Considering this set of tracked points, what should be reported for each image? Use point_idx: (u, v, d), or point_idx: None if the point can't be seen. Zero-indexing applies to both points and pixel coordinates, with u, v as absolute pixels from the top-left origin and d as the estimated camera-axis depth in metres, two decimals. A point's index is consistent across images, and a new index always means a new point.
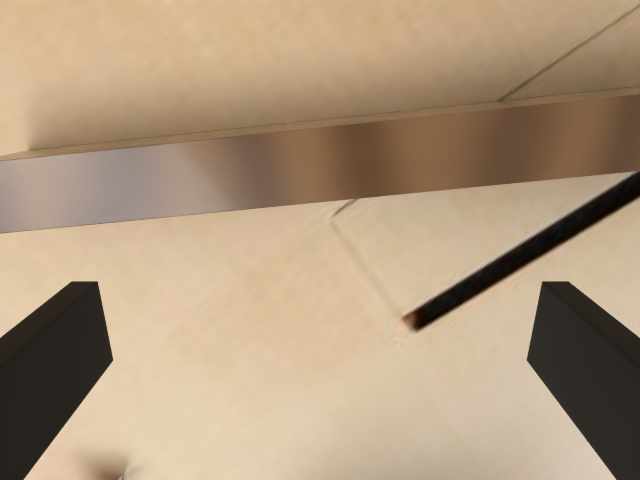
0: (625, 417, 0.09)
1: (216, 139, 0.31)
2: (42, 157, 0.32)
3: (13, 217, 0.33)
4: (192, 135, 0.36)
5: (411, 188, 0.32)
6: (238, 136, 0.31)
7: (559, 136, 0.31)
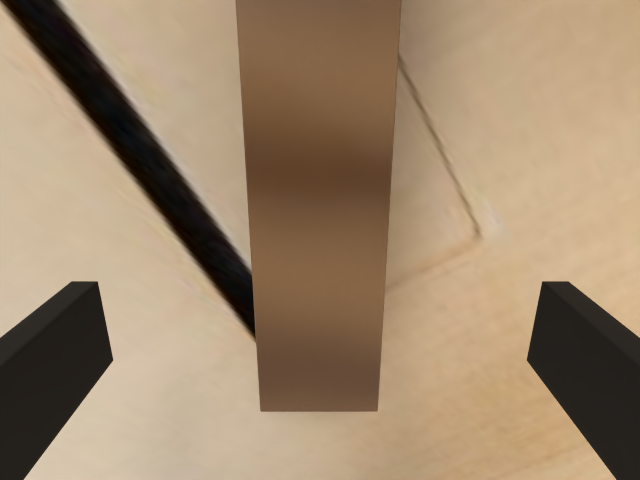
0: (625, 417, 0.09)
1: None
2: None
3: None
4: None
5: None
6: None
7: (330, 27, 0.15)
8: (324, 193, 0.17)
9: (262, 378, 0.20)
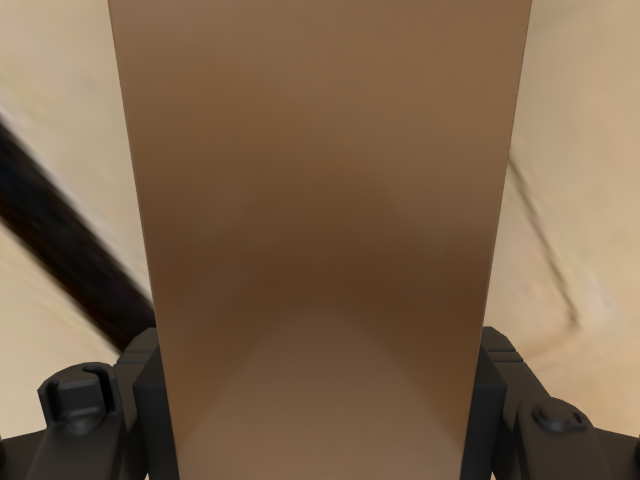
0: None
1: None
2: None
3: None
4: None
5: None
6: None
7: None
8: (332, 332, 0.07)
9: None
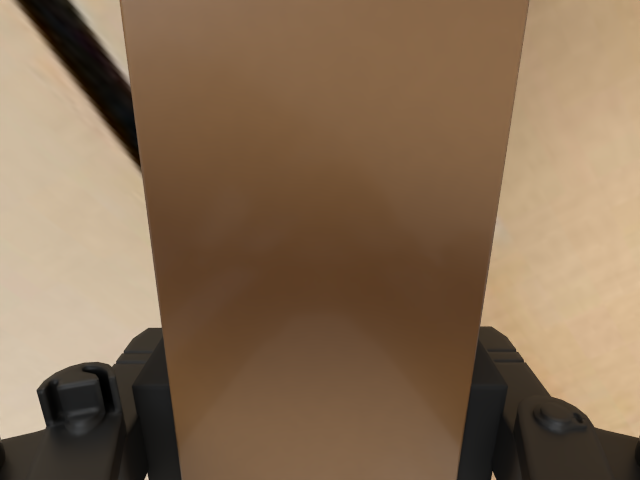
0: None
1: None
2: None
3: None
4: None
5: None
6: None
7: None
8: (333, 323, 0.07)
9: None
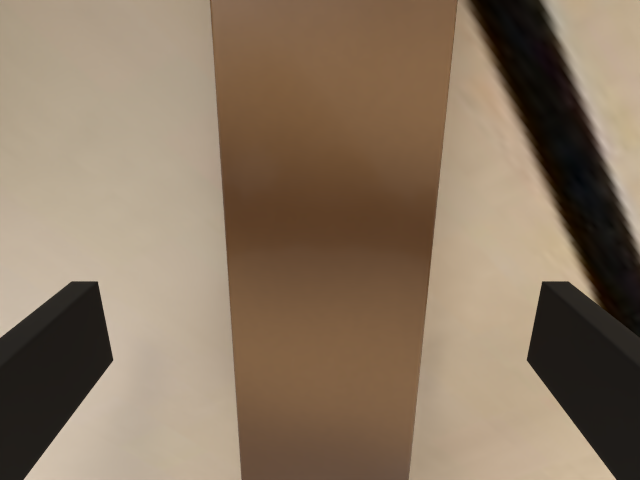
0: (625, 417, 0.09)
1: None
2: None
3: None
4: None
5: None
6: None
7: (351, 6, 0.10)
8: (337, 249, 0.12)
9: None
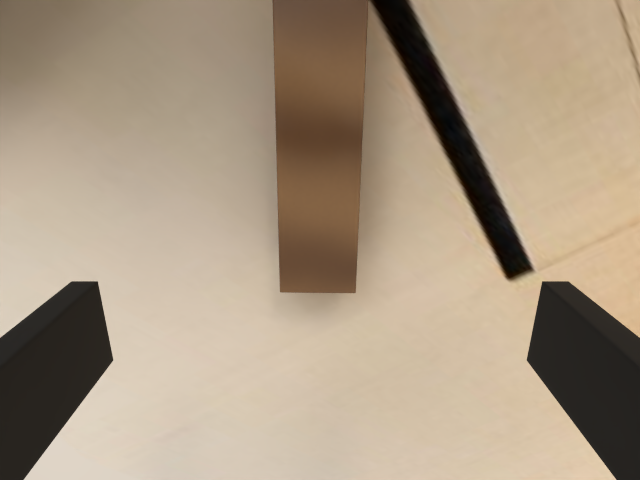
0: (625, 417, 0.09)
1: None
2: None
3: None
4: None
5: None
6: None
7: (326, 49, 0.26)
8: (322, 147, 0.28)
9: (281, 268, 0.31)
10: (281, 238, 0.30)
